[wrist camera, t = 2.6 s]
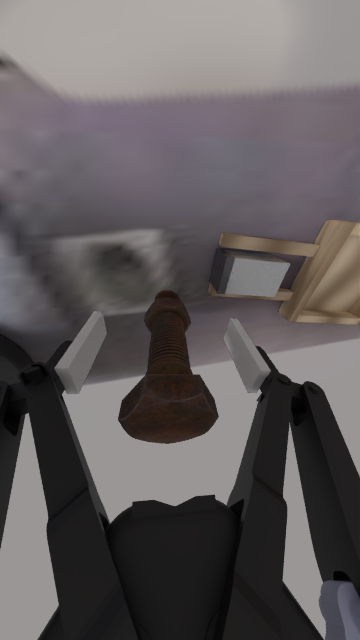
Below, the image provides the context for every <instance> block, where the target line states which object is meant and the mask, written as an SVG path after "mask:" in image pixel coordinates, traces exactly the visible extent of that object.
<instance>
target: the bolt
mask: <svg viewBox="0 0 360 640" xmlns="http://www.w3.org/2000/svg"><path fill="white" fill-rule="evenodd" d="M144 322H145V324H146V326H147V328H148V330H149V331H150V332H151V342H150V348H149V358H148V369H147V372H146V375H145V376H144V377H143V378H142V379H141V381H140V382H139V383H138V384H137V385H136V386H135V387H134V388H133V389H132V390H131V391H130V393H129V394H128V395H127V396H126V397H125V398H124V399H123V400H122V403H121V408H120V412H119V417H118V421H119V422H120V424H121V426H122V427H123V429H124V430H125V431H126V432H127V434H128V435H130V436H131V437H133V438H135V439H138V440H143V441H147V442H155V443H165V444H169V443H176V442H180V441H185V440H189V439H192V438H195V437H197V436H200V435H203V434H205V433H206V432H207V431H209V430H210V428H211V427H212V426H213V425H214V423H215V422H216V420H217V418H218V417H219V416H218V412H217V408H216V404H215V400H214V398H213V396H212V395H211V393H210V391H209V390H208V388H207V386H206V385H205V383H204V381H203V380H202V378H201V376H200V375H193V374H192V371H191V369H190V364H189V363H190V362H189V356H188V349H187V344H186V338H185V331H186V330H187V329H188V327H189V326H190V324H191V321H190V317H189V315H188V313H187V310H186V308H185V306H184V304H183V303H182V301H181V300H180V299H179V297H178V295H177V294H176V293H174V292H172V291H162V292H160V293H158V294H157V296H156V297H155V301H154V302H153V304H152V305H151V306H150V308H149V309H148V311H147V313H146V315H145V318H144Z"/></svg>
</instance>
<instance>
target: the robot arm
mask: <svg viewBox="0 0 360 640" xmlns="http://www.w3.org/2000/svg"><path fill="white" fill-rule="evenodd" d="M106 335H107V333H106V327H105V322H104V317H103V312H101V311H94V312H93V313H92V315H91V316H90V318H89V319H88V321H87V322H86V323H85V325H84V326H83V328H82V329H81V331H80V332H79V334H78V335H77V336H76V338H75V339H74V341H66V342H64V343H63V344H61V345H60V346H59V348H58V349H57V350H56V352H55V353H54V354H53V356H52V357H51V358H50V359H49V361H48V362H47V363H46V365H45V364H44V363H41V362H38V363H32V361H31V360H30V358H29V357H28V356H27V354H26V353H25V352H24V351H23V350H21V349H20V348H19V347H18V346H17V345H15V344H14V343H12V342H11V341H9V340H8V339H6V338H4V337H2V336H1V335H0V548H1V542H2V537H3V532H4V526H5V520H6V515H7V510H8V505H9V499H10V494H11V489H12V483H13V478H14V473H15V467H16V462H17V456H18V451H19V446H20V440H21V435H22V429H23V424H24V419H25V414H27V413H29V416H30V422H31V426H32V432H33V437H34V442H35V447H36V453H37V458H38V463H39V469H40V474H41V479H42V484H43V490H44V495H45V500H46V505H47V510H48V523H47V540H48V545H49V551H50V557H51V562H52V568H53V574H54V579H55V585H56V591H57V597H58V602H59V606H58V608H57V610H56V611H55V612H54V614H53V616H52V618H51V619H50V620H49V622H48V624H47V625H46V627H45V629H44V630H43V632H42V633H41V635H40V637H39V638H38V640H324V639H323V638H322V637H321V635H320V633H319V632H318V630H317V629H316V628H315V626H314V625H313V623H312V622H311V620H310V619H309V618H308V616H307V615H306V613H305V612H304V611H303V609H302V608H301V606H300V605H299V603H298V602H297V601H296V599H295V598H294V596H293V595H292V594H291V592H290V591H289V589H288V588H287V586H286V585H285V584H284V582H283V581H282V579H283V566H284V552H285V538H286V524H287V504H286V501H285V500H284V498H283V485H284V475H285V464H286V452H287V443H288V432H289V422H290V426H291V431H292V437H293V442H294V447H295V453H296V458H297V464H298V469H299V475H300V480H301V485H302V491H303V496H304V502H305V507H306V513H307V518H308V523H309V529H310V534H311V539H312V544H313V548H314V552H315V557H316V560H317V564H318V567H319V571H320V574H321V578H322V581H323V585H322V587H321V596H320V598H319V606H320V610H321V613H322V615H323V617H324V619H325V621H326V636H325V640H360V477H359V474H358V472H357V470H356V467H355V465H354V463H353V460H352V458H351V455H350V453H349V450H348V448H347V446H346V443H345V441H344V438H343V436H342V434H341V432H340V429H339V426H338V424H337V422H336V419H335V417H334V414H333V412H332V410H331V408H330V405H329V402H328V400H327V398H326V395H325V393H324V391H323V390H322V389H321V388H320V387H319V386H318V385H316V384H315V383H313V382H309V381H306V382H304V384H303V385H301V384H298V383H294V382H292V381H291V380H290V379H289V378H288V377H287V376H285V375H283V374H280V373H279V372H278V370H277V369H276V368H275V366H274V364H273V363H272V362H271V360H270V359H269V357H268V356H267V354H266V353H265V351H264V350H263V349H262V348H260V347H259V346H255V345H254V344H253V342H252V341H251V339H250V338H249V336H248V334H247V333H246V331H245V330H244V328H243V327H242V325H241V324H240V322H239V321H238V319H233V318H230V321H229V324H228V327H227V330H226V333H225V335H224V341H225V343H226V345H227V347H228V350H229V352H230V354H231V356H232V359H233V361H234V363H235V365H236V368H237V370H238V372H239V374H240V377H241V379H242V381H243V383H244V386H245V388H246V390H247V392H248V393H257V391H258V390H259V388H260V390H261V392H262V393H261V395H260V396H259V398H258V399H257V401H258V405H257V408H256V412H255V416H254V419H253V422H252V426H251V429H250V433H249V436H248V440H247V443H246V447H245V451H244V454H243V458H242V461H241V465H240V468H239V472H238V475H237V479H236V482H235V485H234V488H233V490H232V492H231V494H230V497H229V499H228V502H227V506H226V505H225V504H224V503H222V502H220V501H218V500H216V499H215V495H207V496H196V497H193V498H191V499H189V500H188V501H185V502H184V503H182V504H180V505H178V506H172V505H168V504H165V503H162V502H158V501H156V500H148V501H136V502H133V505H132V506H131V507H129V508H127V509H126V510H124V511H123V512H122V513H120V514H119V515H118V516H117V517H116V518H115V519H114V521H112V522H111V524H110V522H109V519H108V517H107V514H106V511H105V509H104V506H103V504H102V502H101V500H100V497H99V495H98V492H97V489H96V487H95V484H94V481H93V478H92V476H91V473H90V470H89V467H88V465H87V462H86V459H85V456H84V454H83V451H82V448H81V445H80V443H79V440H78V437H77V435H76V432H75V429H74V426H73V424H72V421H71V418H70V415H69V412H68V410H67V407H66V405H65V402H64V399H63V396H62V393H63V391H64V390H65V391H66V393H67V394H79V392H80V390H81V388H82V386H83V384H84V382H85V379H86V377H87V375H88V373H89V371H90V369H91V367H92V364H93V362H94V360H95V358H96V356H97V354H98V352H99V350H100V347H101V345H102V343H103V341H104V339H105V337H106Z"/></svg>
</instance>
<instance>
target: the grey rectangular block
mask: <svg viewBox="0 0 360 640" xmlns="http://www.w3.org/2000/svg"><path fill="white" fill-rule="evenodd" d="M289 266H290V263H288V262H286V261H284V260H281V259H279V258H277V257H275V256H272V255H268V254H259V253H249V252H240V251H230V250H224V249H216V253H215V257H214V262H213V267H212V271H211V276H210V280H209V281H210V283H211V284H212V286H213V288H214V289H215V291H216V293H217V294H238V295H252V296H266V297H275V295H276V293H277V291H278V289H279V287H280V285H281V282H282V280H283V278H284V276H285V274H286V272H287V270H288V268H289Z"/></svg>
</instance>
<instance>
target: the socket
mask: <svg viewBox="0 0 360 640" xmlns="http://www.w3.org/2000/svg"><path fill="white" fill-rule="evenodd" d="M219 245H220V246H221V247H226V248H236V249H245V250H254V251H264V252H273V253H282V254H291V255H301V256H307V257H306V259H305V261H304V263H303V265H302V267H301V269H300V271H299V273H298V274H297V276H296V278H295V280H294V282H293V284H292V286H291V288H290V290H289V289H284V288H279V289H278V291H277V293H276V295H275V297H266V296H252V295H238V294H217V293H216V291H215V289H214V288H213V286H212V284H211V283H210V286H209V290H208V292H209V294H210V296H224V297H238V298H253V299H268V300H282V301H283V303H282V305H281V307H280V309H279V310H278V312H279V313H280V314H281V315H282V316H283V317H285V318H286V319H287V320H288V321H293V322H313V323H333V324H352V325H360V223H356V222H349V221H337V220H326V221H325V223H324V225H323V227H322V229H321V231H320V233H319V235H318V236H317V238H316V240H315V242H314V244H312V243H304V242H296V241H287V240H279V239H271V238H262V237H254V236H245V235H237V234H229V233H221V237H220V241H219Z"/></svg>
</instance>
